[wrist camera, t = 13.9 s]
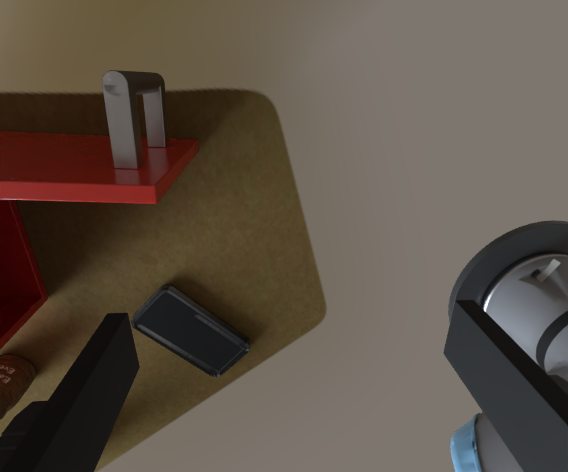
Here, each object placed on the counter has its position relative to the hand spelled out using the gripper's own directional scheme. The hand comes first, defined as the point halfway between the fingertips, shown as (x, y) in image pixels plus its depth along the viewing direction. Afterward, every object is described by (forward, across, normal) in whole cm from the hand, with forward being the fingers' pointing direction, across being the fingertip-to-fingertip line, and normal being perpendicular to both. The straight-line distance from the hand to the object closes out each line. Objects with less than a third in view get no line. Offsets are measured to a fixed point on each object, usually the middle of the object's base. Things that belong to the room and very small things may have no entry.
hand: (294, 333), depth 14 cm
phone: (+28, -11, -22) cm, 37 cm away
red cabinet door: (+27, -18, +7) cm, 33 cm away
